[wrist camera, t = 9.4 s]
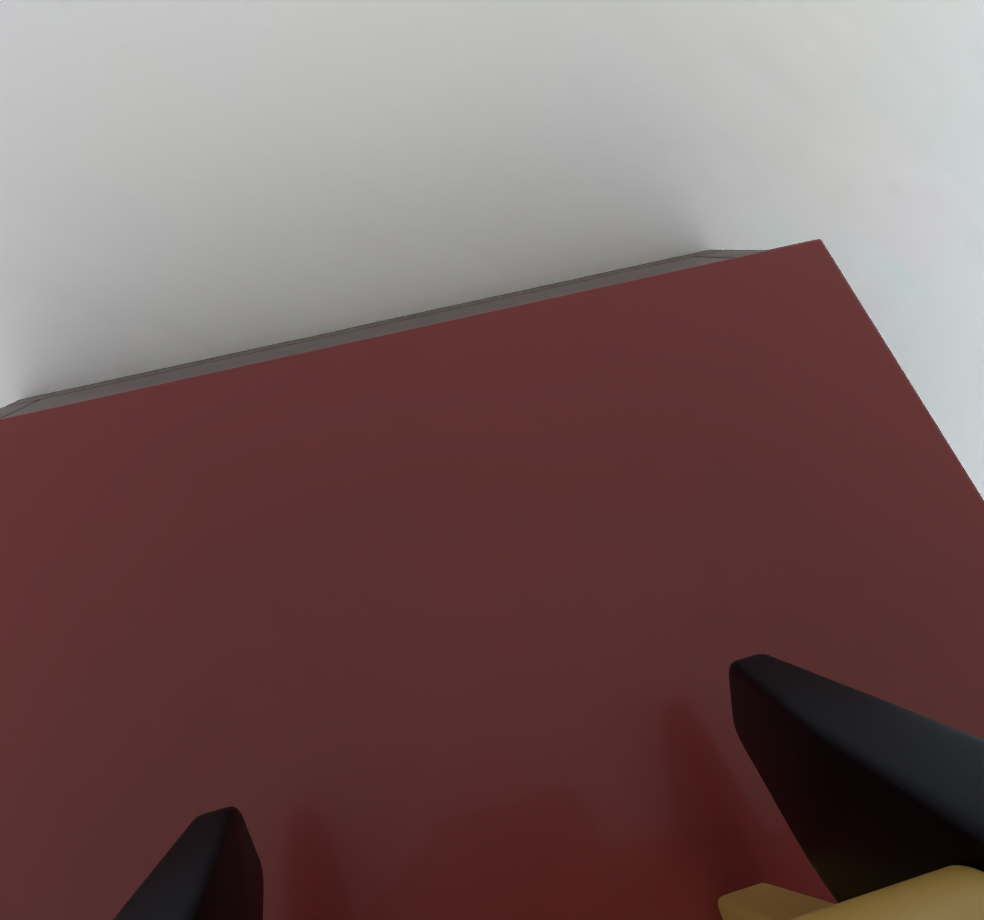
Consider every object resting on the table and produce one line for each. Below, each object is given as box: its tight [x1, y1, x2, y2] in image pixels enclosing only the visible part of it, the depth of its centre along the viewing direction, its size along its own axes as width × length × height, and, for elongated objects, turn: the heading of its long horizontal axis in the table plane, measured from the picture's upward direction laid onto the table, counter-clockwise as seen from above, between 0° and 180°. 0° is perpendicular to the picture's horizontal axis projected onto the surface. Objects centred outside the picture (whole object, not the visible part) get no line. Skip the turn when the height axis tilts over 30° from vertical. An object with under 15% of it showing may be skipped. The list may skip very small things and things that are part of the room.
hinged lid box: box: [0, 250, 766, 419], centre depth 17 cm, size 12×17×4 cm
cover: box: [0, 239, 984, 920], centre depth 8 cm, size 12×17×6 cm
